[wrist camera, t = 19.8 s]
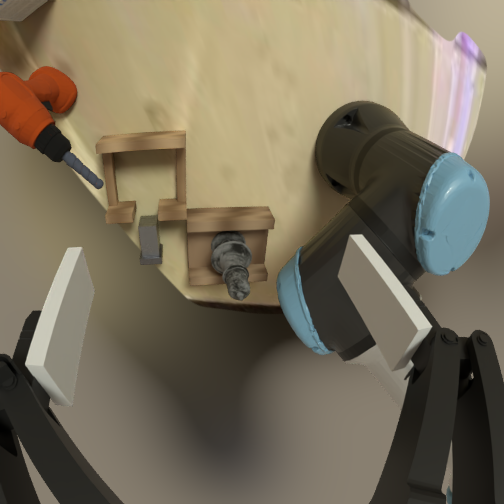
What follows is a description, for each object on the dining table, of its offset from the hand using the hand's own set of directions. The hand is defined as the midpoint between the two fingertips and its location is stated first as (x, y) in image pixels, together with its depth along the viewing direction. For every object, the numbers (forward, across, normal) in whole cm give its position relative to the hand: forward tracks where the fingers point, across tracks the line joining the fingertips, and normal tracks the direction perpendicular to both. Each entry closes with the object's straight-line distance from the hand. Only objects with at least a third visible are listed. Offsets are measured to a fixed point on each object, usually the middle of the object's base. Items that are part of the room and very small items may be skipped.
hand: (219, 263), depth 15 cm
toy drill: (+29, +16, -4) cm, 33 cm away
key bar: (+29, +7, +16) cm, 34 cm away
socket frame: (+29, +7, +6) cm, 30 cm away
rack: (+29, -4, +18) cm, 34 cm away
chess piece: (+27, -5, +18) cm, 33 cm away
